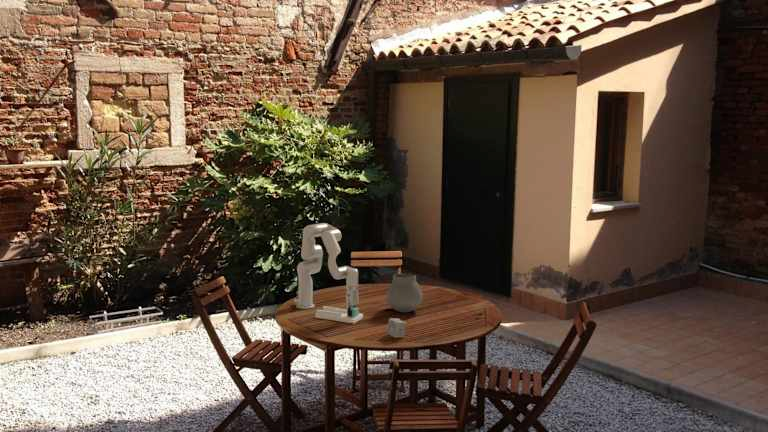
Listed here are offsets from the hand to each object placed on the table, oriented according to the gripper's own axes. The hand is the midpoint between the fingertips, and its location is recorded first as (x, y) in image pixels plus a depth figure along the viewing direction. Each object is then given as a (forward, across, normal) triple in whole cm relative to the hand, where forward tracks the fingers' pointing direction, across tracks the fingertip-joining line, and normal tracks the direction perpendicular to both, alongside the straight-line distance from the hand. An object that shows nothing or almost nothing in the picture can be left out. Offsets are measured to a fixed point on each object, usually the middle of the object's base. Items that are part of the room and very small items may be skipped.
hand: (351, 314), depth 457 cm
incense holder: (+3, -18, -39) cm, 43 cm away
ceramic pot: (+3, +34, -23) cm, 41 cm away
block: (+1, 0, -1) cm, 2 cm away
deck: (+3, 0, +9) cm, 10 cm away
